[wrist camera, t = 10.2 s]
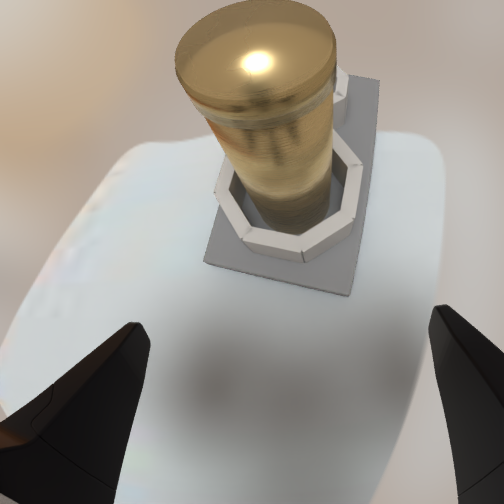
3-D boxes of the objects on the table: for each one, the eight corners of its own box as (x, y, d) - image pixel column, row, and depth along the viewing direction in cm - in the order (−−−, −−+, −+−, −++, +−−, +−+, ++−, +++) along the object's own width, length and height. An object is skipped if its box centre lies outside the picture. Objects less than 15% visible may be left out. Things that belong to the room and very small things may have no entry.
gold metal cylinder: (305, 250, 18) (278, 121, 6) (240, 212, 20) (141, 73, 8) (345, 187, 19) (362, 17, 7) (281, 154, 20) (233, -10, 8)
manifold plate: (348, 296, 18) (355, 290, 15) (208, 264, 21) (183, 250, 17) (378, 88, 21) (383, 52, 17) (267, 73, 23) (257, 39, 19)
